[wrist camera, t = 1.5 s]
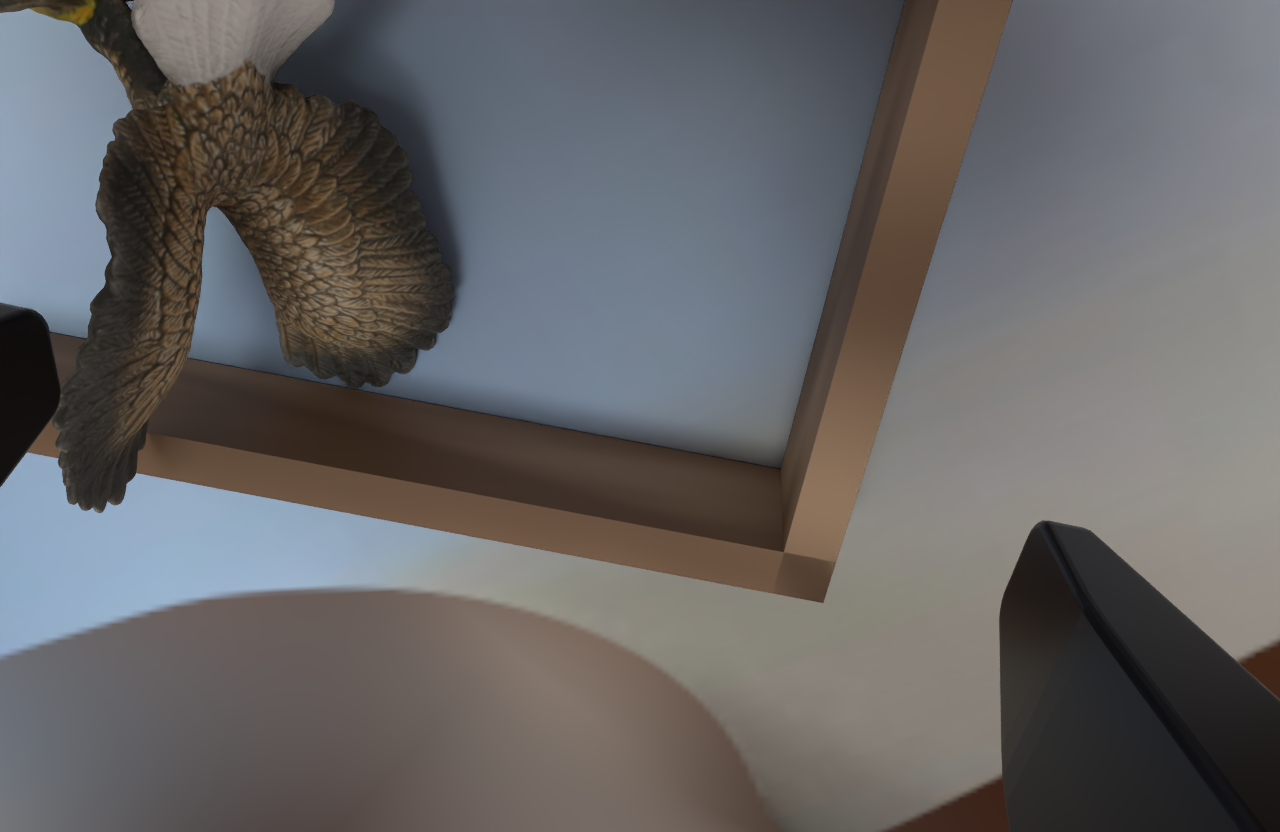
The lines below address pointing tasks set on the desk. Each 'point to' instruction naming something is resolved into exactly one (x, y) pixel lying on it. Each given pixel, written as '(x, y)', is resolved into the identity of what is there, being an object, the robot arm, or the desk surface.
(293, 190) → the eagle figurine
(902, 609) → the desk surface
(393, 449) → the wooden frame
